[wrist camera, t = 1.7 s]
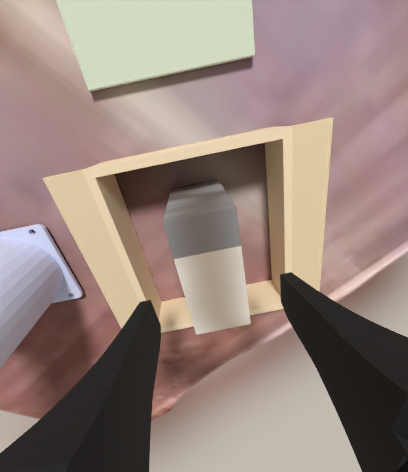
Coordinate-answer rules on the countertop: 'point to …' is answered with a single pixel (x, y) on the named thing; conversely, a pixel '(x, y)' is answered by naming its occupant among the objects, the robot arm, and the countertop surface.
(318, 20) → the countertop surface
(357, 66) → the countertop surface
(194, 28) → the mat
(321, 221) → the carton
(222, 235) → the box
